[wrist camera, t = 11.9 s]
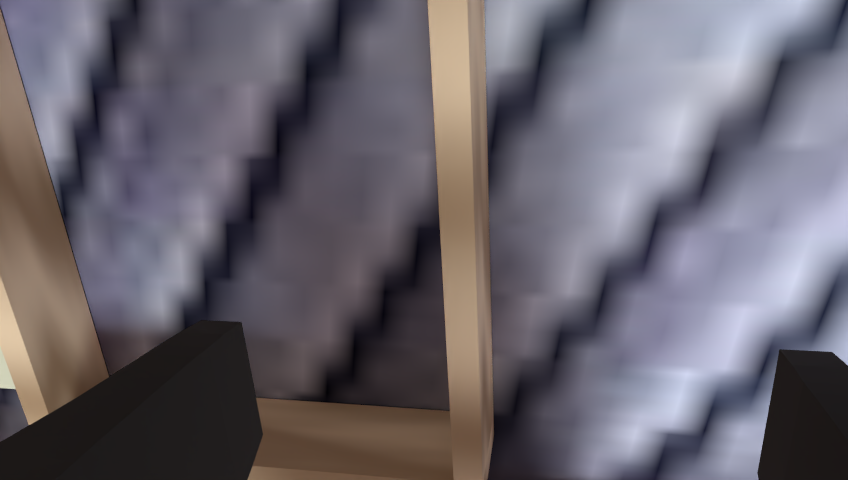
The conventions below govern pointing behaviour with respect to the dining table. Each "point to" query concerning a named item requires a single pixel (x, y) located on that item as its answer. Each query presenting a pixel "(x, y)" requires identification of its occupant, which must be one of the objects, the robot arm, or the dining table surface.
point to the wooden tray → (280, 419)
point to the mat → (5, 374)
